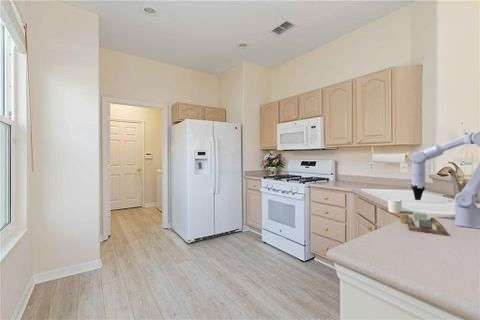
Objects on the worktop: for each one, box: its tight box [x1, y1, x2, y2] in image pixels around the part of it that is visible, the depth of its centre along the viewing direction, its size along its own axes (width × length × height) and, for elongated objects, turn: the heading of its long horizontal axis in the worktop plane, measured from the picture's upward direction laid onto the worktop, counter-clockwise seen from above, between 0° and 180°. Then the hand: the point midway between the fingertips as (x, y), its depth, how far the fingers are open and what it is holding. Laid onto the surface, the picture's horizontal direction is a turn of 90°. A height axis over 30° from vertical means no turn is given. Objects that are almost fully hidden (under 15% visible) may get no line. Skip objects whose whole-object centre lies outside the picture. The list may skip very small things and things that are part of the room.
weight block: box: [418, 219, 433, 229], centre depth 99 cm, size 4×4×4 cm
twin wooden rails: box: [405, 214, 447, 236], centre depth 105 cm, size 12×24×2 cm, turn 148°
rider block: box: [412, 210, 428, 222], centre depth 114 cm, size 5×5×4 cm
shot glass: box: [387, 198, 403, 214], centre depth 130 cm, size 7×7×7 cm
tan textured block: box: [399, 213, 407, 225], centre depth 110 cm, size 2×3×4 cm, turn 148°
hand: (417, 199), depth 120 cm, fingers closed
